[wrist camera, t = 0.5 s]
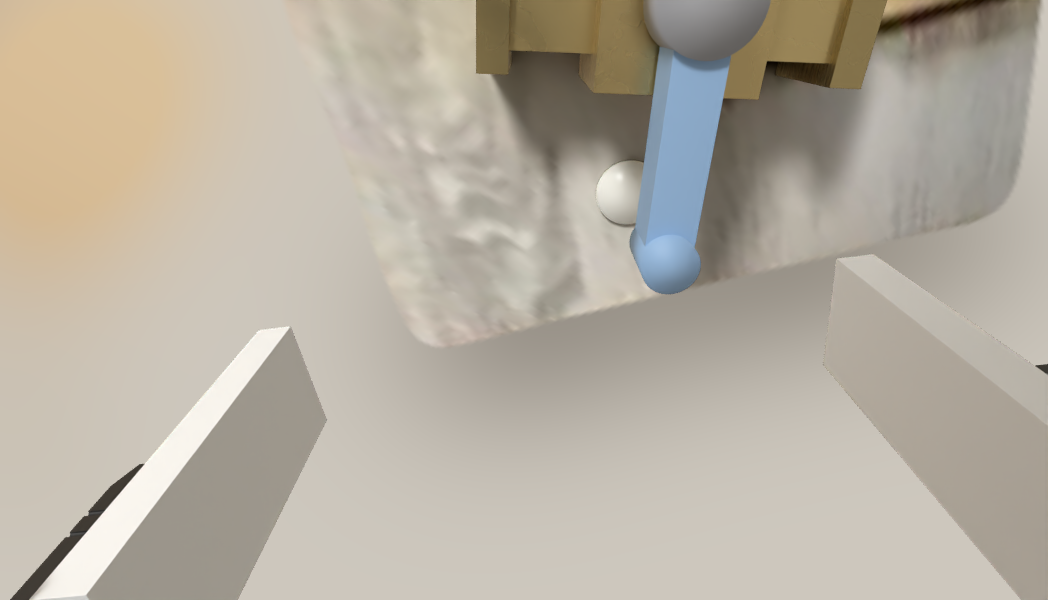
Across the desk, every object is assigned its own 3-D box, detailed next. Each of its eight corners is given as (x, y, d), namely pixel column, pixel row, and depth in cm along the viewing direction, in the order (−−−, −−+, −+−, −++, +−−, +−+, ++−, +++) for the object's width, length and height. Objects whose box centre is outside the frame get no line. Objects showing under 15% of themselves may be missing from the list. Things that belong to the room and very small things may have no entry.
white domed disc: (599, 158, 37) (599, 159, 37) (665, 161, 37) (666, 162, 37) (592, 221, 39) (593, 223, 39) (655, 224, 39) (656, 225, 39)
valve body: (485, 71, 34) (473, 87, 27) (486, -84, 31) (472, -117, 23) (798, 84, 35) (877, 104, 27) (836, -68, 31) (940, -96, 23)
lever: (650, -59, 24) (669, -71, 20) (753, -55, 24) (789, -66, 20) (612, 263, 30) (621, 292, 27) (691, 266, 30) (711, 295, 27)
